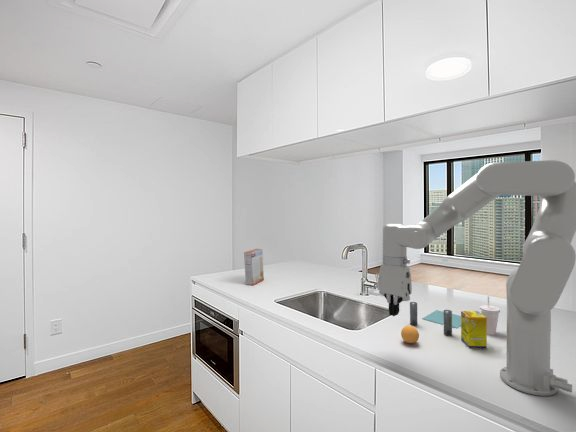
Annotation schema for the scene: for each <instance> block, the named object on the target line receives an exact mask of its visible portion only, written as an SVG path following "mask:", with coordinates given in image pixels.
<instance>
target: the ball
mask: <svg viewBox="0 0 576 432" xmlns="http://www.w3.org/2000/svg"><path fill="white" fill-rule="evenodd" d="M400 336H401V338H402V340H403V341H404V342H405V343H408V344H412V345H413V344H415V343H417V342H418V341H419V338H420V333H419V331H418V329H417V328H416V326H412V325H406V326H404V327H402V329H401V331H400Z"/></svg>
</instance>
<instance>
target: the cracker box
mask: <svg viewBox="0 0 576 432" xmlns="http://www.w3.org/2000/svg"><path fill="white" fill-rule="evenodd" d="M263 254H264V253H263V249H262V248H254V249H251V250H248V251H244V253H243V255H244V272H245V273H244V274H245V275H244V277H245V285H246V286H255V285H257V284H259V283H261V282H262V281H264V280H265V279H264V278H265V277H264V275H265V274H264V256H263Z"/></svg>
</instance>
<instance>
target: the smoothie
mask: <svg viewBox="0 0 576 432" xmlns="http://www.w3.org/2000/svg"><path fill="white" fill-rule="evenodd" d="M479 310H480V313H481V314H482V315H483V316H485V317H486V318H487V336H488V335H489V336H495V335H496V333H497V328H498V322H499V315H500V312H501V309H500V308H499V306H498V307H497V306H496V305H495V306H494V305H491V304H490V296H487V304H483V305H480V306H479Z"/></svg>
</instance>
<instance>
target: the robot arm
mask: <svg viewBox="0 0 576 432" xmlns="http://www.w3.org/2000/svg"><path fill="white" fill-rule="evenodd" d="M575 180H576V174H575V171H574V169H573V168H572V167H571V166H570V165H569V163H566V162H564V161H560V160H556V159H555V160H552V159H551V160H529V161H528V160H527V161H495V162H490V163H487V164H485V165H483V166H482V167H481V168H480V169H479V170H478V172H477V173H476V174H474V175H472V177H471V178H469V179H468V180H467V181H465V182H464V183H463V184H462V185H460V186H459V187H458V188H456V189H454V191H452V193H450V194H449V195H447V197H445V198H444V199H443V201H442V202H441V203H440V205H438V206H437V208H435V209H434V210H432V212H431V213H429V214H428V215H427V216H426V217H424V218H423V219H422V220H420V221H419V222H418V223H415V224H413V225H405V224H403V223H386V224H384V225H383V226H382V227H383V228H382V263H380V266H379V267H380V268H379V273H378V281H377V282H378V286H377V287H378V290H379V292H378V294H379V295H381V296H383V297H384V298H385V299H386V302H387V303H388V312H389V314H388V315H389V316H393V317H395V316H397V315H399V313H400V304H401V303H402V302H409V301H410V300H411V297H410V295H411V294H412V292H413V291H412V290H413V286H412V274H411V269H410V263H411V259H408V256H407V253H408V252H407V250H408V249H407V248H410V249H414V250H415V249H416V250H420V249H424V248H426V247H427V246H429V245H430V244H431V243H433V242H434V241H435V240H437V239H438V238H439V237H441V236H442V235H443V234H444V233H446V232H447V231H449V230H450V229H452V228H453V227H455V226H456V225H459V224H460V223H462V222H464V221H466V220H468V219H469V218H470V217H472V216H473V215H474V214H476V213H478V212H479V211H480V210H481V209H483V208H485V207H486V206H487V205H488V204H490V203H492V202H493V201H494V200H496V199H498V197H500V196H531V197H533V196H537V197H538V199H539V208H538V211H537V214H536V216H535V218H534V222H533V224H532V227H531V229H530V231H529V233H528V236H527V237H526V239H525V241H524V242H523V245H522V253H523V256H522V259H521V261H520V264H519V265H518V267H517V268H516V269H515V270H513V271H512V272H511V273H510V274H509V275H508V277H507V279H506V285H505V288H506V290H505V291H506V366H504V367H502V368H500V370H499V377H500V378H501V380H502V381H503V382H504V383H505V384H506V385H508V386H510V387H511V388H513V389H515V390H518V391H519V392H523V393H526V394H530V395H535V396H538V397H539V396H540V397H541V396H543V397H546V396H547V397H548V396H553V395H555V394H557V393H558V390H559V389H560V390H562V391H566V392H568V393H573V384H571V383H569V382H568V379H566V378H563V377H559V376H556V375H555V374H554V369H553V368H551V336H552V334H551V332H552V329H551V328H552V312H551V310H553V309H554V308H555V306H556V305H557V303H558V302H559V300H560V298H561V296H562V293H563V292H564V289H565V287H566V286H567V283H568V281H569V279H570V276H571V274H572V272H573V271H574V267H575V264H576V251H575V248H574V247H573V245H572V241H573V239H574V237H575V234H576V181H575Z"/></svg>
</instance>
